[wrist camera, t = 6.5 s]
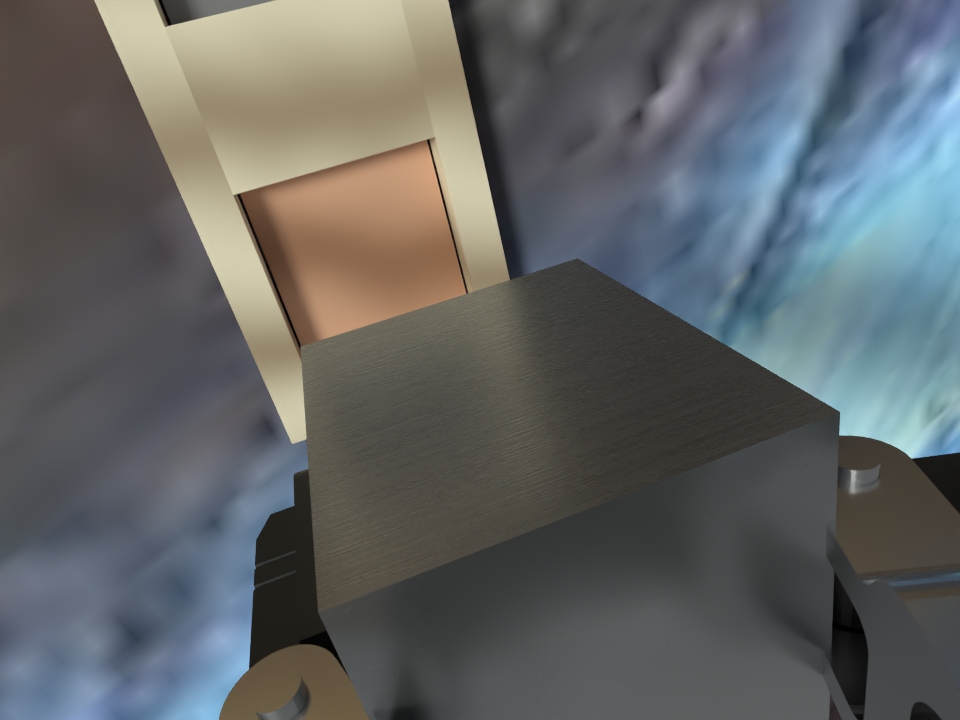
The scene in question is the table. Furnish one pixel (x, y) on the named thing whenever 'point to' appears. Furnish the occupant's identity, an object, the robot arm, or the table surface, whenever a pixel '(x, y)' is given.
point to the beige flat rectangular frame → (316, 161)
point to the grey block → (568, 512)
